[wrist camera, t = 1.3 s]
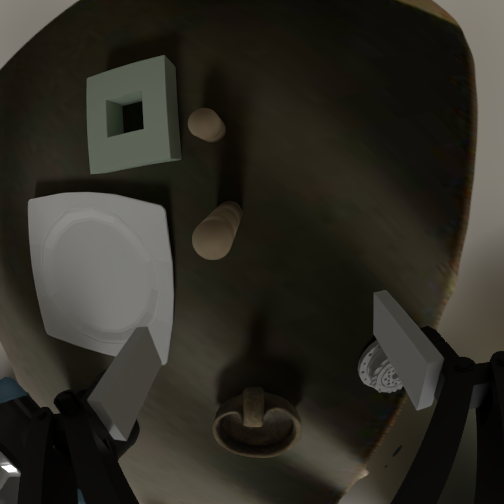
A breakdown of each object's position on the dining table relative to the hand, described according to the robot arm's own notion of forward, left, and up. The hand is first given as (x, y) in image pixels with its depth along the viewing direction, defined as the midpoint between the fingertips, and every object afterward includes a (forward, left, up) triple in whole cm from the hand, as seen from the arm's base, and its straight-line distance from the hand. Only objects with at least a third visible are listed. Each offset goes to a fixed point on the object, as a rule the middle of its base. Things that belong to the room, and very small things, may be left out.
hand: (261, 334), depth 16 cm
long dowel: (-3, +4, -20) cm, 21 cm away
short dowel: (-4, +14, -20) cm, 25 cm away
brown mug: (-2, -26, -20) cm, 33 cm away
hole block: (-13, +17, -20) cm, 29 cm away
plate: (-23, -3, -21) cm, 31 cm away
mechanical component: (+18, -20, -21) cm, 34 cm away
